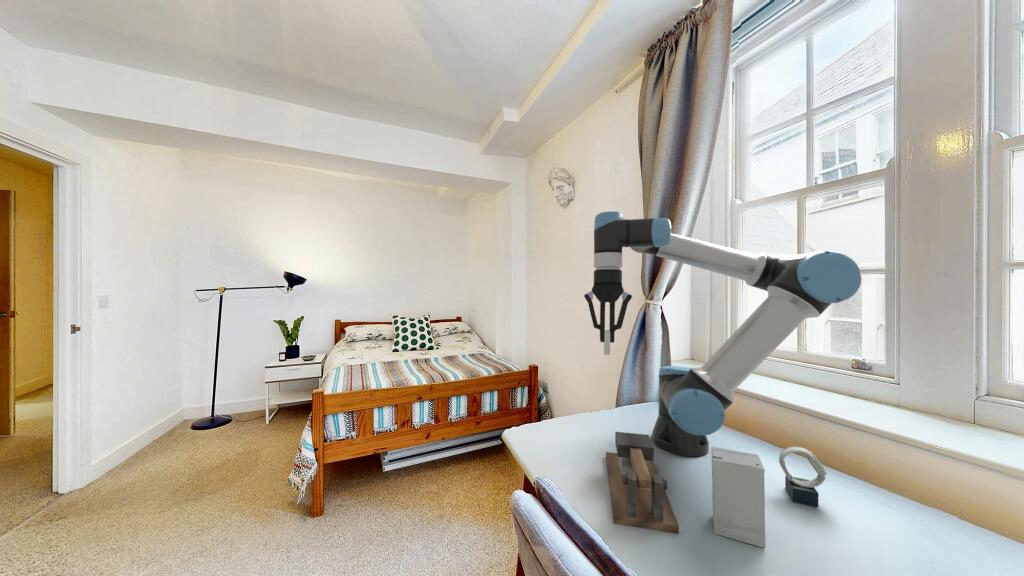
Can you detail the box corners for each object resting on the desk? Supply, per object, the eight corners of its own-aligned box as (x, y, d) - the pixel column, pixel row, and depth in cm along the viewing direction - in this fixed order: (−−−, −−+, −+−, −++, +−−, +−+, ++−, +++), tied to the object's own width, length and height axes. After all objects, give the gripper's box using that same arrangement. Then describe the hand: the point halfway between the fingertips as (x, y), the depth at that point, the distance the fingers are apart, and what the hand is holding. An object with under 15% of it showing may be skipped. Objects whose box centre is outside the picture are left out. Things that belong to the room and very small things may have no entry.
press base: (652, 462, 89) (652, 429, 89) (678, 533, 64) (679, 487, 64) (605, 457, 92) (606, 424, 92) (613, 523, 66) (614, 478, 66)
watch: (830, 510, 70) (831, 459, 70) (782, 499, 74) (783, 450, 74) (819, 495, 76) (820, 447, 75) (775, 486, 79) (776, 440, 79)
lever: (648, 446, 85) (648, 434, 85) (666, 495, 65) (667, 480, 65) (615, 443, 86) (615, 431, 86) (623, 490, 67) (624, 475, 67)
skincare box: (760, 529, 65) (761, 454, 65) (766, 551, 60) (767, 469, 59) (710, 515, 69) (711, 444, 69) (711, 534, 64) (712, 457, 63)
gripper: (630, 269, 94) (629, 352, 95) (583, 269, 97) (582, 350, 97) (634, 268, 87) (633, 358, 87) (583, 268, 90) (582, 355, 90)
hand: (606, 354), depth 92 cm, fingers closed
